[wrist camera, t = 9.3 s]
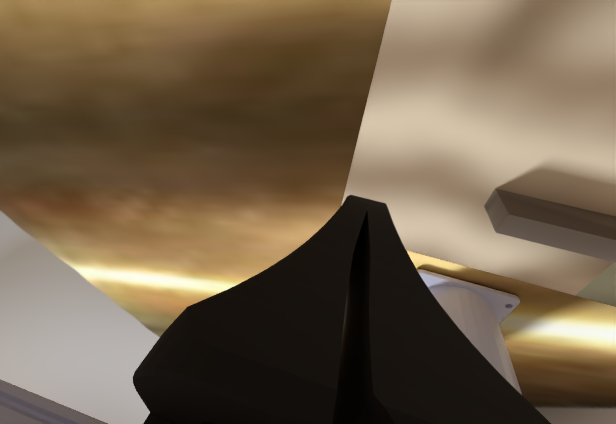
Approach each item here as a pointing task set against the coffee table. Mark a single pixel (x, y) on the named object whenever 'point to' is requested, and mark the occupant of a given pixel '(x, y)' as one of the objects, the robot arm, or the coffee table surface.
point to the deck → (498, 138)
